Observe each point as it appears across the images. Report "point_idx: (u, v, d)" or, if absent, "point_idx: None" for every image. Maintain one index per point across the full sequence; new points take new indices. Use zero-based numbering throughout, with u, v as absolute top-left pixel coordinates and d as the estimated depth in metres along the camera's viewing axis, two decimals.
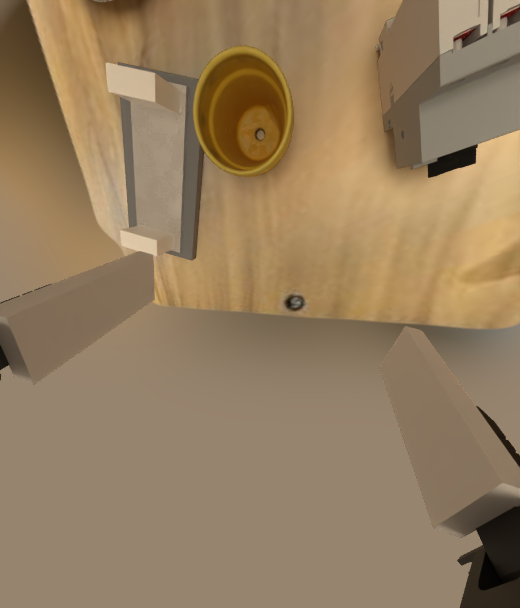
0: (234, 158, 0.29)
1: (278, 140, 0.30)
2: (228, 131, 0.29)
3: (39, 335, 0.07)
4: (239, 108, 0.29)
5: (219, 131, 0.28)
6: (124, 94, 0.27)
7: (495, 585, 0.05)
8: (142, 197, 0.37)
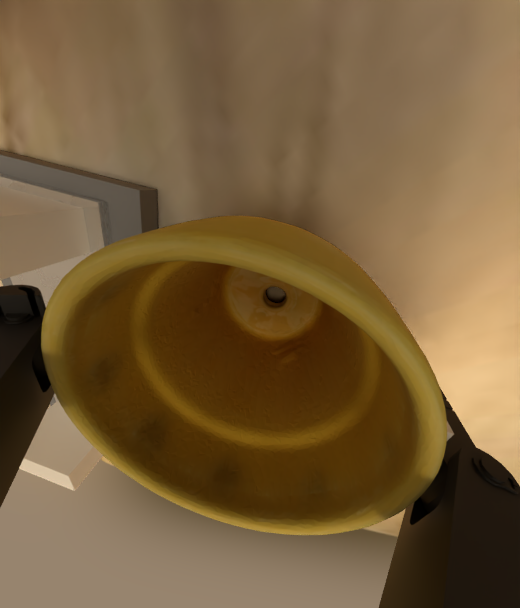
0: (215, 382, 0.12)
1: (317, 312, 0.13)
2: (200, 309, 0.12)
3: None
4: None
5: (172, 337, 0.11)
6: None
7: (423, 518, 0.06)
8: None
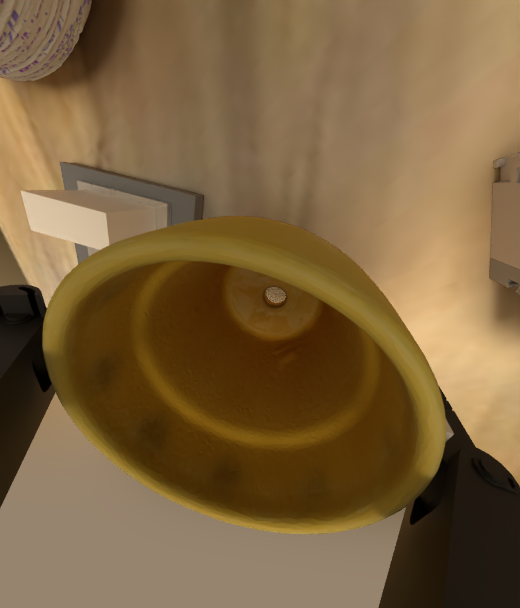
0: (215, 381, 0.12)
1: (317, 312, 0.13)
2: (201, 309, 0.12)
3: None
4: None
5: (173, 337, 0.11)
6: (58, 236, 0.16)
7: (423, 518, 0.06)
8: None
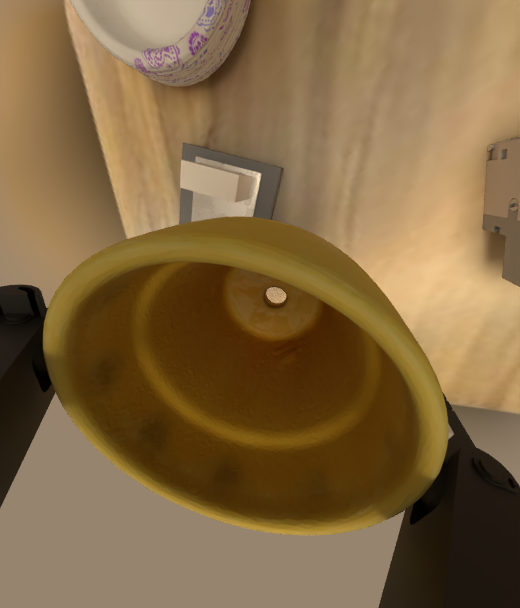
0: (215, 382, 0.12)
1: (317, 312, 0.13)
2: (201, 309, 0.12)
3: None
4: None
5: (173, 337, 0.11)
6: (199, 191, 0.24)
7: None
8: None
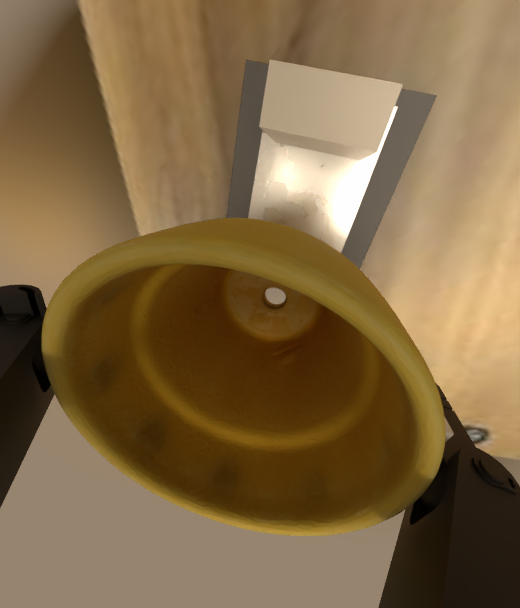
0: (214, 383, 0.12)
1: (316, 313, 0.13)
2: (200, 310, 0.12)
3: None
4: None
5: (172, 338, 0.11)
6: (299, 133, 0.12)
7: (423, 518, 0.06)
8: None
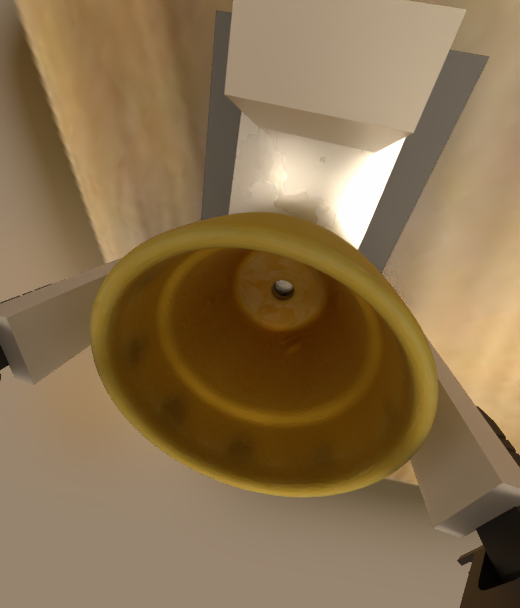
0: (227, 367, 0.13)
1: (322, 305, 0.14)
2: (214, 299, 0.13)
3: (39, 335, 0.07)
4: (239, 255, 0.13)
5: (190, 324, 0.11)
6: (287, 104, 0.07)
7: (495, 585, 0.05)
8: None
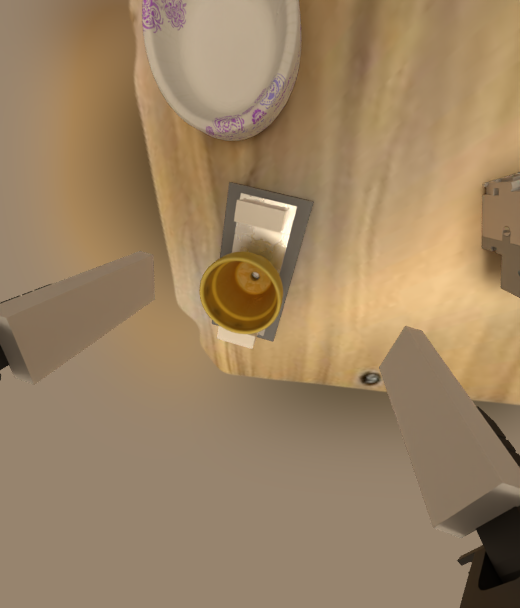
0: (233, 304, 0.34)
1: (270, 282, 0.36)
2: (228, 279, 0.34)
3: (39, 335, 0.07)
4: (237, 262, 0.34)
5: (220, 286, 0.33)
6: (249, 224, 0.29)
7: (495, 585, 0.05)
8: None
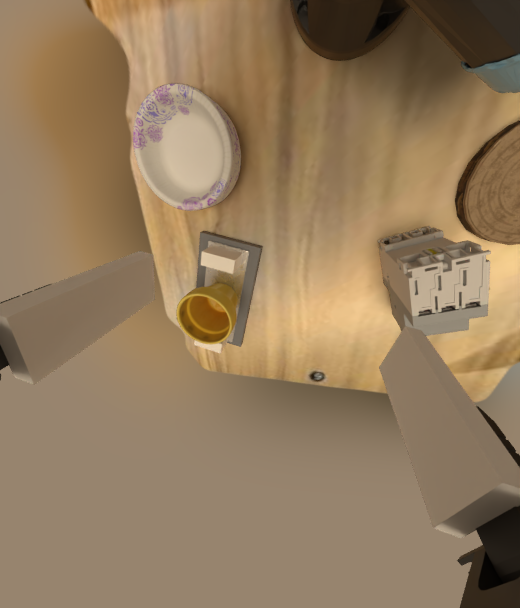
0: (204, 321, 0.46)
1: None
2: (200, 302, 0.46)
3: (39, 335, 0.07)
4: None
5: (194, 308, 0.44)
6: (211, 267, 0.40)
7: (495, 585, 0.05)
8: None
